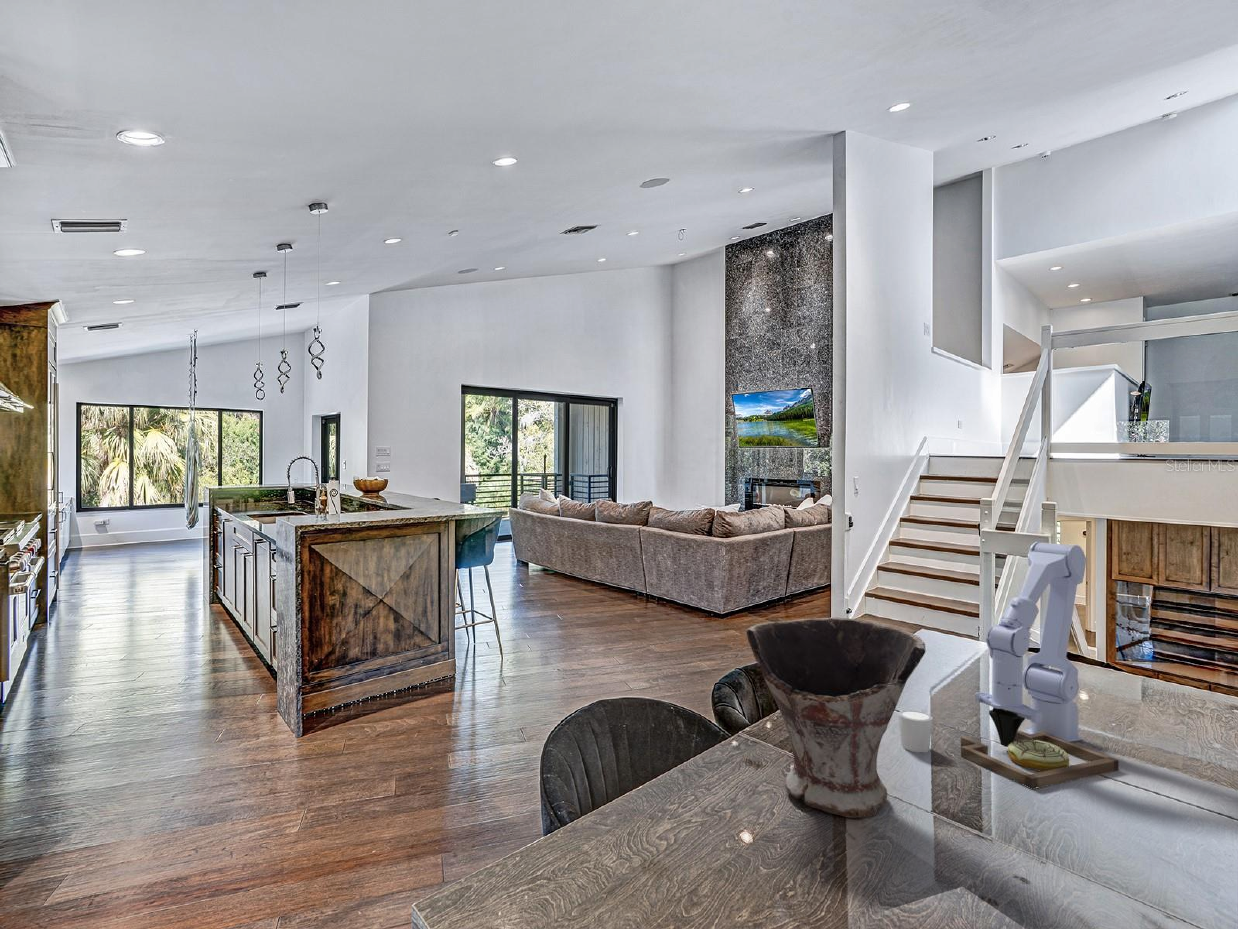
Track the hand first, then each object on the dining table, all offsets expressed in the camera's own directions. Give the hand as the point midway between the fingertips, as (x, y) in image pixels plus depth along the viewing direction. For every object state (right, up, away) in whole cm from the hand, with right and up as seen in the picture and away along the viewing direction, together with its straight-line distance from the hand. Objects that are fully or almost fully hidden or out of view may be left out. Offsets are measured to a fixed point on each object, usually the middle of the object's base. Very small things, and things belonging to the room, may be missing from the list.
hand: (1006, 745), depth 147 cm
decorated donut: (+3, -1, -7) cm, 7 cm away
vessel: (-44, 0, -21) cm, 49 cm away
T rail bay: (+2, -1, -5) cm, 5 cm away
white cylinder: (-20, -1, 0) cm, 20 cm away
